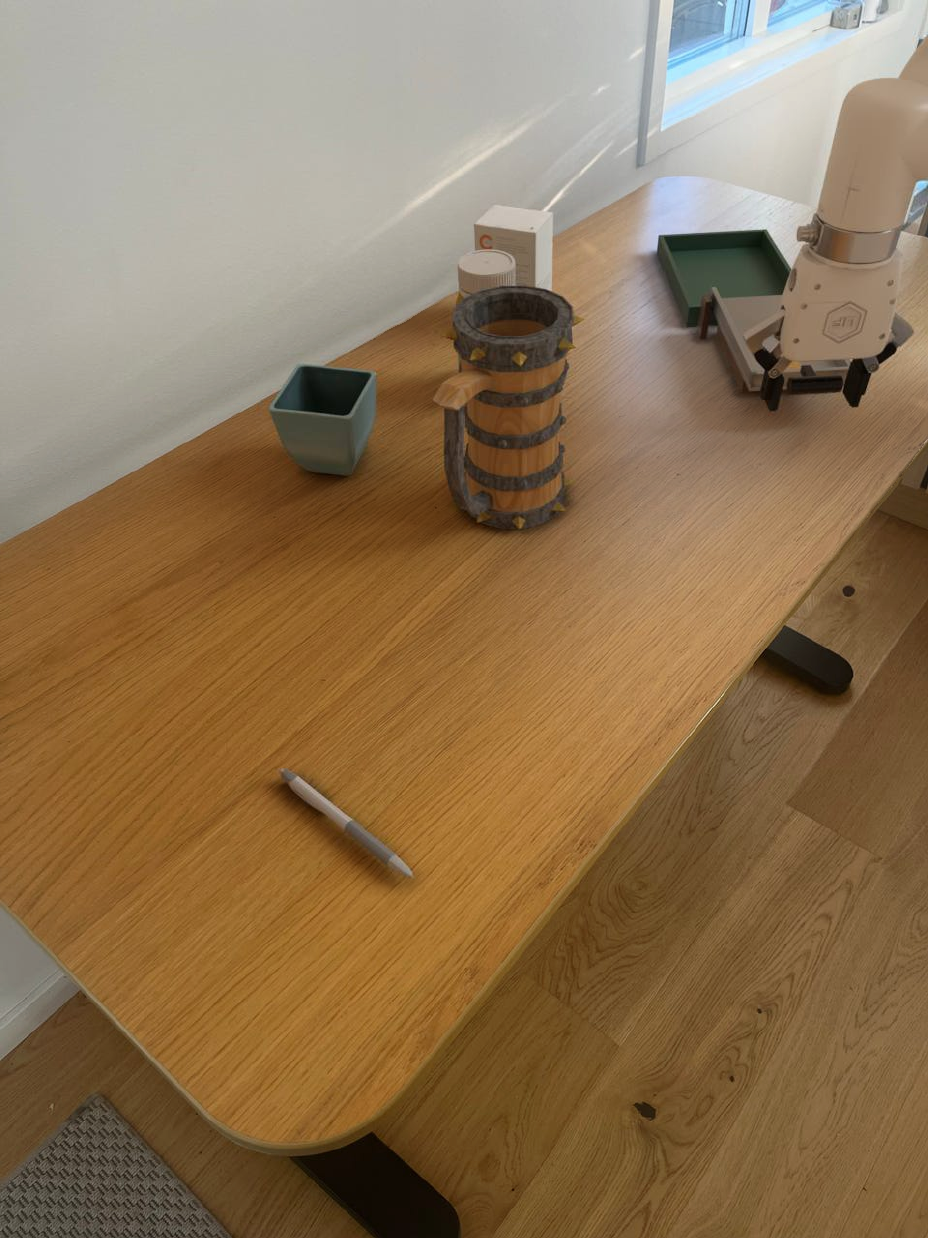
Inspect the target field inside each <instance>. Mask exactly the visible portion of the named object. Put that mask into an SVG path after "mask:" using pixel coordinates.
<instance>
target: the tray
mask: <svg viewBox="0 0 928 1238" xmlns="http://www.w3.org/2000/svg"><path fill="white" fill-rule="evenodd" d="M656 255H657V258H658V261H659V263H660V266H661V268H662V270H663V273H664V276H665V278H666V280H667V283H668V285H669V287H670V290H671V293H672V295H673V298H674V300H675V303H676V305H677V307H678V309H679V312H680V315H681V317H682V320H683V322H684V324H685V327H686V328H692V327H694V328H695V327H697V326H698V320H699V313H700V307H701V300H702V294H709V296H710V292H711V287H716V288H717V290H718V292H719V294H720V296H721V298H735V297H754V296H772V295H783V291H784V288H785V285H786V283H787V280H788V277H789V275H790V272H791V269H792V267H791V266H790V264H789V263H788V261H787V260H786V258H785V257H784V254H783V253H782V252H781V250H780V248H779V247H778V245H777V243H776V242H775V240H774V239H773V237H772V236H771V233H770V232H769V231H768V229H764V228H763V229H747V230H746V229H745V230H729V231H711V232H707V231H706V232H690V233H689V232H688V233H671V234H658V237H657V248H656ZM712 326H713V327H714V326H718V322H717V320H716V318H715V316H714V314H713V311H712V309H711V313H710V319H709V325H708V327H712Z"/></svg>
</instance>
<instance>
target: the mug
mask: <svg viewBox="0 0 928 1238" xmlns="http://www.w3.org/2000/svg"><path fill="white" fill-rule="evenodd" d="M451 318H452V319H451V323H452V328H451V329H449V330H448V331H446V332H444V333H443V334H441V335H440V337H442V338H443V339H444V338H445V339H448V340H450V341H453V343H452V344H453V349H454V350H455V352H456V353H457V355H458V354H459V356H460V364H459V363H458V373H456V374H454V375H452V376H451V377H449V378H448V379H446V380H445V381H443V382H442V383H441V384H440V386H439V388H438V389H437V390H436V392H435V394H434V396H433V398H432V401H434V402H435V403H436V404H438V405H439V407H441V408H443V423H444V425H443V428H444V430H443V465H444V467H443V469H444V474H445V477H446V481H447V486H448V490H449V492H450V494H451V498H452V499H453V501H454V503H455V505H456V507H457V508H458V509H459V510H465V511H467V513H468V515H469V516H471V517H472V518H473V519H475V520H476V524H478V523H481V524H483V525H486V526H490V527H492V528H497V529H501V530H525V529H529V528H533V527H536V526H540V525H544V524H545V523H547V522H548V521H550V520H551V519H552V518H554V517H555V516H557V515H558V514H559V513H560V512H567V509H566V508H565V507H564V504H565V490H566V486H568V485H570V484H573V483H574V482H575V480H573V479H569V478H566V477H565V474H564V472H563V470H562V469H563V467H564V453H565V452H566V447H565V445H564V444H561V442H560V441H559V431H560V429H561V427H562V426H564V425H565V424H566V422H567V418H566V416H564V415H563V410H562V409H563V408H562V407H563V406H562V402H561V393H562V391H563V387H564V384H565V381H566V379H567V374H568V371H569V370H570V363H568V359H567V354H568V353H569V352H570V350H574V349H576V348H577V347H576V346H574V343H573V341H574V339H573V329H572V328H573V327H574V326H576V325H579V323H582V322H583V321H585V320H586V319H585V318H582V317H579V316H577V315H574V307H573V305H572V304H571V303H570V302H569V301H568V300H567V299H566V298H565V297H564V296H563V295H561V294H558V293H556V292H553V291H552V290H551V291H549V290H547V289H543V288H537V287H531V286H526V285H515V286H498V287H494V288H489V289H484V290H480V291H478V292H476V293H474V294H472V295H469V296H467V297H465V298H463V299H462V301H461V302H460V303H459V304H458V305H457V306H456V305H455V306H454V308H453V311H452V317H451ZM465 429H466V433H467V443H466V445H465V450H464V442H465V441H464V440H465Z"/></svg>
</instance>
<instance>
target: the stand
mask: <svg viewBox="0 0 928 1238" xmlns="http://www.w3.org/2000/svg"><path fill="white" fill-rule="evenodd" d="M711 306H712V300H711V298H710V296H709V294H702V300H701V307H700V313H699V320H698V326H696V334H697V337H698V338H699V340H707V337H708V330H709V326H708V325H709V319H710V313H711ZM715 338H716V340H717V342H718V345H719V347H720V349H721V351H722V353H723V355H724V358H725V360H726V362H727V364H728V367H729V370H730V372H731V373H732V376H733V378H734V380H735V383H736V385H737V387H738V389H739V391H740V394H758V393H759V394H760V391H749V390H748V388H747V386H746V383H745V381H744V379H743V377H742V375H741V372H740V370H739V368H738V366H737V364H736V362H735V359H734V357H733V355H732V353H731V351H730V348H729V346H728V344H727V342H726V340H725V338H724V335H723V333H722V331H721V329H720V327H719V325H717V328H716V335H715ZM782 392H787V389H783V390H782Z"/></svg>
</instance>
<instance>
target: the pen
mask: <svg viewBox="0 0 928 1238" xmlns="http://www.w3.org/2000/svg"><path fill="white" fill-rule="evenodd" d="M278 772H279V774H280V777H281V778H282V779H283V781H284V782H285V783H286V784H287V785H288V786H289V788H290V789H291V790H292V791H293V793H294V794H296V795H297V796H298V797H300V798H301V800H303V801H304V802H305V803H306V804H308V805H309V806H311V807H312V808H314V809H316V810H317V811H319V812H321V813H322V814H324V815H325V816H326V817H327V818H329V819H330V820H331V821H333V823H335V824H336V825H337V826H338V827H340V829H342V831H344V832H345V833H346V834H347V835H349V837H351V838H352V839H353V840H355V841H356V842H357V843H358V844H359V845H361V846H362V847H363V848H364V849H366V851H368V852H369V853H370V854H371V855H373V856H374V857H375V858H377V859H378V860H379V861H380V862H382V863H383V864H384V865H385V866H386V867H388V868H390V869H391V870H392V871H394V872H395V873H397V874H399V875H401V876H402V877H405V878H409V879H414V874H413V872H412V870H411V869H410V867H409V866H408V865H407V864H406V863H405V862H404V861H403V860H402V859H401V857H399V856H398V855H397V854H396V853H395V852H394V851H392V850H391V849H390V848H389V847H388V846H386V845H385V844H384V843H383V842H382V841H380V840H379V839H378V838H376V837H375V836H374V835H373V834H371V832H369V831H368V830H366V829H365V828H364V827H363V826H362V825H360V824H359V823H358V822H357V821H355V820H354V819H353V818H351V817H350V816H348V815H347V814H346V813H344V812H343V811H342V810H341V809H340V808H338V807H337V806H336V805H335V804H333V803H332V802H331V801H330V800H329V799H327V798H326V797H325V796H323V795H322V794H321V793H320V792H319V791H318V790H316V789H314V788H313V786H311V785H310V784H309V783H308V782H306V781H305V780H304V779H302V777H300V776H298V774H297V773H295V772H294V771H291V770H290V769H284V768H283V767H281V768H280V769H279V771H278Z"/></svg>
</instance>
